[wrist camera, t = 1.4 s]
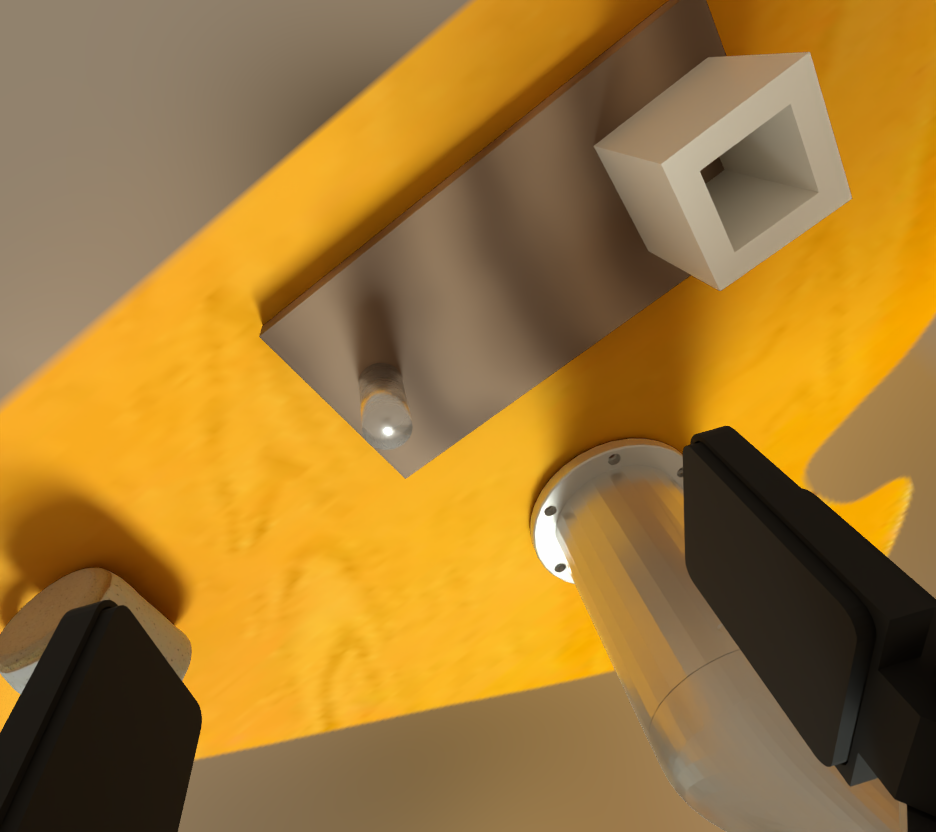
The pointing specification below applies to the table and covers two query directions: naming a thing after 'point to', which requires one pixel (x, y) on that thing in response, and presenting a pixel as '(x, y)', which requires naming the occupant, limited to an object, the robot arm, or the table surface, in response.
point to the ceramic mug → (43, 613)
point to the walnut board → (501, 257)
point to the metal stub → (384, 407)
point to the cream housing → (728, 164)
